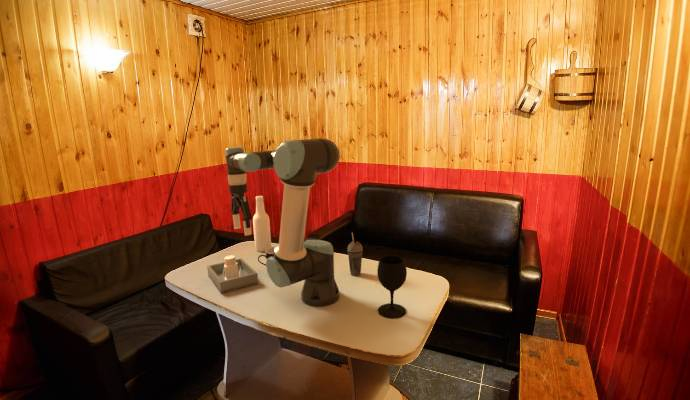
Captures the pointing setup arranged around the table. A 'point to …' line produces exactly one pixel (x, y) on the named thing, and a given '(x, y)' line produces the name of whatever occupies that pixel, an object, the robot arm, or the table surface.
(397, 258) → the wine glass
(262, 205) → the alcohol
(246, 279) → the tote
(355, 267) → the beverage cup
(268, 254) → the coffee mug
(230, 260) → the downlight
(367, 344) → the table surface
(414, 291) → the table surface
